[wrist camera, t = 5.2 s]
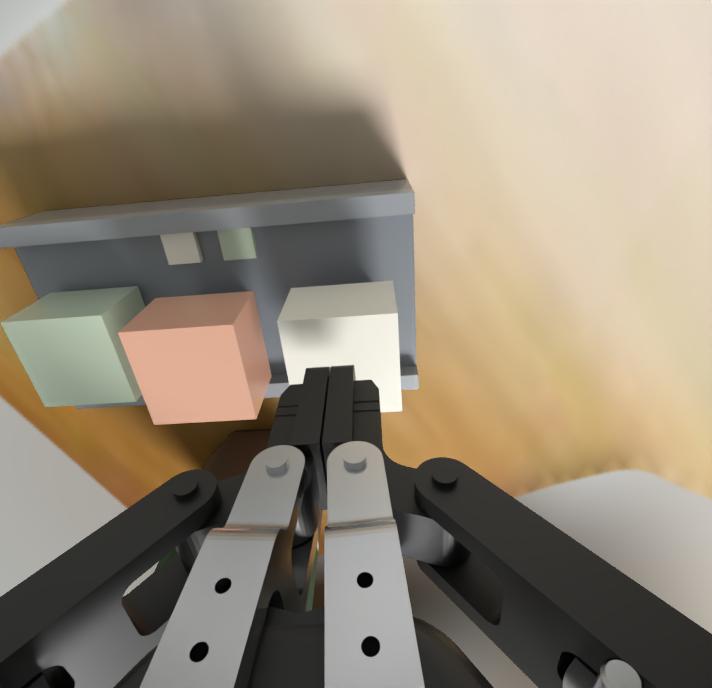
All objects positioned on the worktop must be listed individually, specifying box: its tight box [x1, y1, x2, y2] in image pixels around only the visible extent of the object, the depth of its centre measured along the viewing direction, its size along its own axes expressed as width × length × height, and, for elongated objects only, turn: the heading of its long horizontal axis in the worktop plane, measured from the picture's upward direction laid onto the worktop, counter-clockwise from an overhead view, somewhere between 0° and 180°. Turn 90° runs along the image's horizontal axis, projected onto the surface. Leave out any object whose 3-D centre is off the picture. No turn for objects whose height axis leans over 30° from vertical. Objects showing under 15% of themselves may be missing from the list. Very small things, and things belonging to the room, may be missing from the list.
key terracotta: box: [118, 291, 272, 425], centre depth 17 cm, size 4×4×3 cm
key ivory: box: [277, 281, 402, 412], centre depth 17 cm, size 4×4×3 cm
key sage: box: [0, 286, 145, 407], centre depth 19 cm, size 4×4×3 cm
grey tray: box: [0, 179, 419, 409], centre depth 20 cm, size 17×9×5 cm, turn 95°
